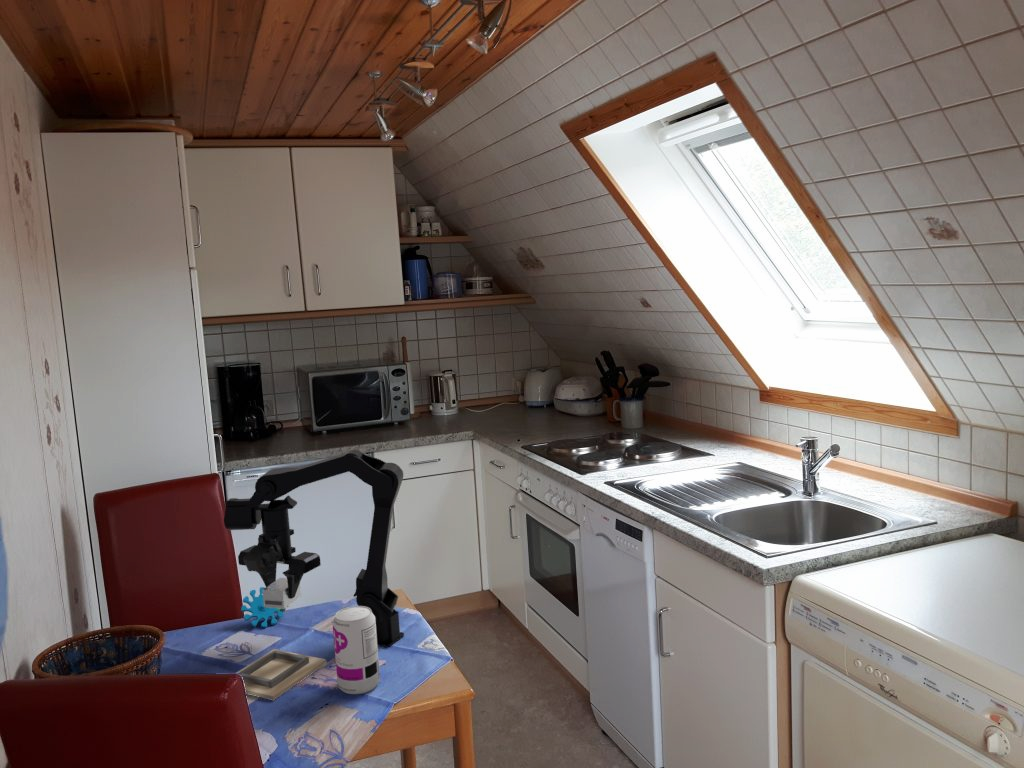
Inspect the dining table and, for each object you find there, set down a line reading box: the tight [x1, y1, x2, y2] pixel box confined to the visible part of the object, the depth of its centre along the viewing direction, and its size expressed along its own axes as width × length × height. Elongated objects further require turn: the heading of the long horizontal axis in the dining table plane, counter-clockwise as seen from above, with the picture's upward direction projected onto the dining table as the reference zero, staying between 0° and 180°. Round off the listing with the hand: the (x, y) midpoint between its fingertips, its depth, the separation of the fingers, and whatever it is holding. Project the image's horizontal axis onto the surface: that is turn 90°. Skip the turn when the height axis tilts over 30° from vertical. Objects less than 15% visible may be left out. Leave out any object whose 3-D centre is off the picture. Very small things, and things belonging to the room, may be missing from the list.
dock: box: [236, 648, 327, 700], centre depth 169 cm, size 14×16×2 cm
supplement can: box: [332, 605, 381, 695], centre depth 162 cm, size 8×8×15 cm
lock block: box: [262, 577, 302, 610], centre depth 183 cm, size 5×7×4 cm
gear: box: [240, 586, 289, 629], centre depth 197 cm, size 11×6×10 cm
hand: (282, 596), depth 183 cm, fingers closed on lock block, 5 cm apart
